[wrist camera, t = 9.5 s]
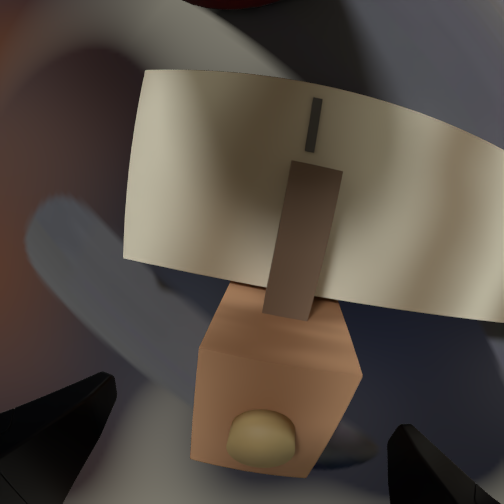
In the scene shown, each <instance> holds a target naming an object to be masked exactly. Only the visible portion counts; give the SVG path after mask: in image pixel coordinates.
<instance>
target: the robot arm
mask: <svg viewBox="0 0 504 504" xmlns="http://www.w3.org/2000/svg"><path fill="white" fill-rule="evenodd" d="M116 398H117V390H116V383H115V378H114V376H113V375H111V374H108V373H106V372H100V373H97V374H95V375H93V376H90V377H88V378H86V379H83V380H81V381H79V382H76V383H74V384H72V385H69V386H67V387H65V388H62V389H60V390H58V391H55V392H53V393H51V394H48V395H46V396H43V397H41V398H38V399H36V400H33V401H31V402H28V403H26V404H23V405H21V406H18V407H16V408H15V409H11V410H8V411H5V412H2V413H0V504H63V502H64V500H65V498H66V496H67V495H68V493H69V491H70V489H71V487H72V485H73V483H74V481H75V480H76V478H77V476H78V475H79V473H80V471H81V469H82V468H83V466H84V464H85V462H86V461H87V459H88V457H89V455H90V454H91V452H92V450H93V448H94V447H95V445H96V443H97V441H98V440H99V438H100V436H101V434H102V431H103V429H104V427H105V424H106V422H107V419H108V417H109V415H110V413H111V410H112V408H113V406H114V403H115V401H116ZM387 450H388V486H389V495H390V504H500V503H499V502H498V501H496V500H495V499H494V498H492V497H491V496H490V495H488V493H486V492H485V491H484V490H483V489H482V488H481V487H479V486H478V485H477V484H475V482H474V481H473V480H471V479H470V478H469V477H468V476H467V475H466V474H465V473H464V472H463V471H462V470H461V469H460V468H458V467H457V466H456V465H455V464H454V463H453V462H452V461H451V460H450V459H449V458H447V457H446V456H445V455H444V454H443V453H442V452H441V451H440V450H439V449H438V448H437V447H436V446H434V445H433V444H432V443H431V442H430V441H429V440H428V439H427V438H426V437H425V436H424V435H423V434H421V433H420V432H419V431H418V430H417V429H416V428H415V427H414V426H413V425H411V424H401V425H399V426H398V427H397V429H396V430H395V432H394V433H393V434H392V436H391V437H390V439H389V441H388V444H387Z"/></svg>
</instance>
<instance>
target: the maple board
mask: <svg viewBox="0 0 504 504" xmlns="http://www.w3.org/2000/svg"><path fill="white" fill-rule="evenodd" d="M292 160H293V161H298V162H303V163H308V164H313V165H318V166H322V167H327V168H331V169H335V170H340V171H343V175H342V180H341V185H340V190H339V195H338V199H337V204H336V209H335V213H334V218H333V222H332V227H331V231H330V236H329V240H328V244H327V248H326V252H325V256H324V261H323V265H322V268H321V272H320V276H319V280H318V284H317V288H316V292H315V295H314V296H318V297H324V298H330V299H336V300H342V301H348V302H354V303H361V304H367V305H373V306H380V307H387V308H393V309H400V310H407V311H414V312H421V313H429V314H436V315H444V316H451V317H459V318H467V319H475V320H483V321H492V322H501V323H504V150H502V149H501V148H499V147H497V146H495V145H493V144H491V143H489V142H487V141H485V140H483V139H481V138H479V137H477V136H474V135H472V134H470V133H468V132H466V131H464V130H461V129H459V128H457V127H454V126H452V125H450V124H447V123H445V122H442V121H440V120H437V119H435V118H432V117H430V116H427V115H424V114H421V113H419V112H416V111H413V110H410V109H407V108H404V107H401V106H398V105H395V104H392V103H389V102H386V101H382V100H379V99H375V98H372V97H368V96H365V95H361V94H357V93H353V92H349V91H345V90H341V89H337V88H332V87H328V86H323V85H318V84H313V83H308V82H303V81H297V80H291V79H285V78H278V77H271V76H262V75H255V74H246V73H235V72H222V71H205V70H146V71H145V75H144V79H143V85H142V89H141V94H140V99H139V105H138V110H137V116H136V122H135V129H134V135H133V142H132V149H131V157H130V166H129V175H128V185H127V197H126V210H125V227H124V252H123V258H125V259H130V260H134V261H139V262H143V263H148V264H152V265H157V266H162V267H167V268H171V269H176V270H181V271H185V272H191V273H196V274H200V275H205V276H210V277H215V278H220V279H225V280H230V281H235V282H241V283H246V284H251V285H256V286H262V287H267V283H268V278H269V273H270V268H271V263H272V258H273V253H274V248H275V243H276V238H277V233H278V228H279V222H280V217H281V212H282V207H283V202H284V196H285V191H286V186H287V180H288V175H289V170H290V164H291V161H292Z"/></svg>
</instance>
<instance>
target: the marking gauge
mask: <svg viewBox="0 0 504 504" xmlns="http://www.w3.org/2000/svg"><path fill="white" fill-rule="evenodd" d="M342 175H343V171H340V170H335V169H331V168H327V167H322V166H318V165H313V164H308V163H303V162H298V161H293V160H292V161H291V164H290V170H289V175H288V180H287V186H286V191H285V196H284V202H283V207H282V212H281V217H280V222H279V228H278V233H277V238H276V243H275V248H274V253H273V258H272V263H271V268H270V273H269V278H268V283H267V287H262V286H256V285H251V284H246V283H241V282H235V281H230V283H229V286H228V288H227V290H226V292H225V294H224V296H223V298H222V300H221V303H220V305H219V307H218V309H217V311H216V313H215V315H214V317H213V319H212V321H211V324H210V326H209V328H208V330H207V332H206V334H205V336H204V338H203V340H202V343H201V345H200V347H199V354H198V364H197V375H196V386H195V398H194V410H193V423H192V438H191V453H190V459H193V460H196V461H200V462H204V463H209V464H213V465H218V466H222V467H227V468H233V469H238V470H243V471H249V472H256V473H262V474H271V475H278V476H288V477H299V478H306V477H307V476H308V474H309V473H310V471H311V470H312V468H313V467H314V465H315V463H316V462H317V460H318V458H319V457H320V455H321V454H322V452H323V450H324V449H325V447H326V445H327V443H328V442H329V440H330V438H331V436H332V435H333V433H334V431H335V429H336V427H337V426H338V424H339V422H340V420H341V418H342V416H343V414H344V413H345V411H346V409H347V407H348V405H349V403H350V401H351V399H352V397H353V395H354V393H355V391H356V389H357V387H358V385H359V382H360V380H361V378H362V376H363V375H362V372H361V369H360V365H359V362H358V359H357V356H356V353H355V350H354V347H353V344H352V341H351V338H350V335H349V332H348V329H347V326H346V323H345V320H344V317H343V314H342V311H341V309H340V306H339V303H338V300H336V299H330V298H324V297H318V296H314V295H315V292H316V288H317V284H318V280H319V276H320V272H321V268H322V265H323V261H324V256H325V252H326V248H327V244H328V240H329V236H330V231H331V227H332V222H333V218H334V213H335V209H336V204H337V199H338V195H339V190H340V185H341V180H342Z"/></svg>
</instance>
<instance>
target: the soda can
mask: <svg viewBox="0 0 504 504" xmlns="http://www.w3.org/2000/svg"><path fill="white" fill-rule="evenodd" d="M183 1H185V2H188V3H190V4H192V5H197V6H201V7H205V8H212V9H222V10H230V9H246V8H253V7H260V6H264V5H267V4H271V3H275V2H278V1H280V0H183Z"/></svg>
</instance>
